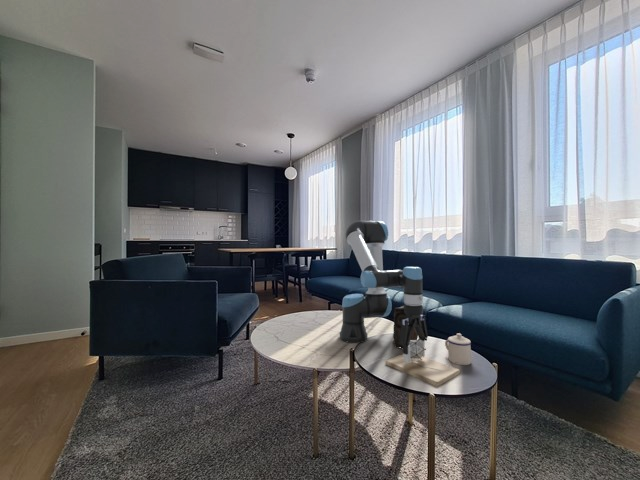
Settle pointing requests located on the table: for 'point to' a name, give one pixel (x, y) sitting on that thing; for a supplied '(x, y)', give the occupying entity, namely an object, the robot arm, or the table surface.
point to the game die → (416, 349)
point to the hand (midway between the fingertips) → (414, 358)
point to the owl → (398, 316)
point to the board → (424, 369)
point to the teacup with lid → (459, 349)
